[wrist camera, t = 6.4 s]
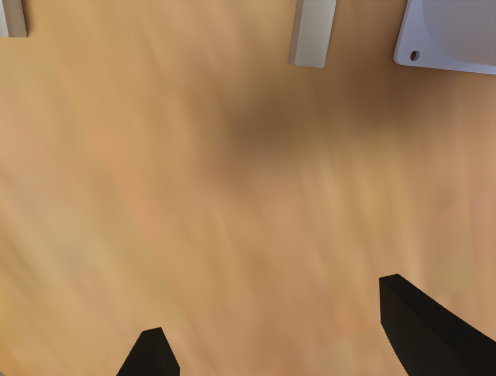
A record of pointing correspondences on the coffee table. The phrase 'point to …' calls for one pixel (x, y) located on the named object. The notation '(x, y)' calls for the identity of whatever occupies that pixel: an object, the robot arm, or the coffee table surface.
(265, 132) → the coffee table surface
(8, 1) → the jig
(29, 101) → the coffee table surface
